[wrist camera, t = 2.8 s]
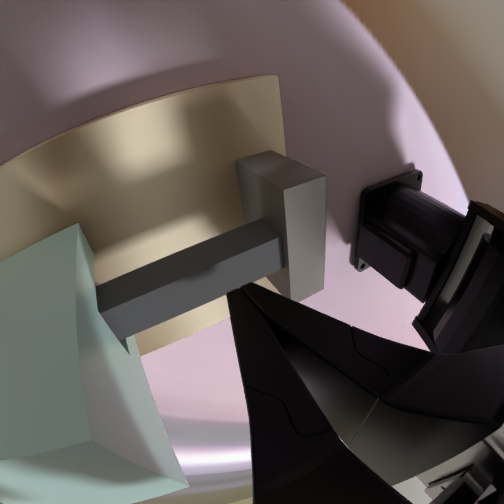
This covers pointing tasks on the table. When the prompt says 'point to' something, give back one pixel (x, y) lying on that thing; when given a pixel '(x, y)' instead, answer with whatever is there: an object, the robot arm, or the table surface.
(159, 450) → the pale teal block
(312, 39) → the table surface
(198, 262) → the long grey square rod
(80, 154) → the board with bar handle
